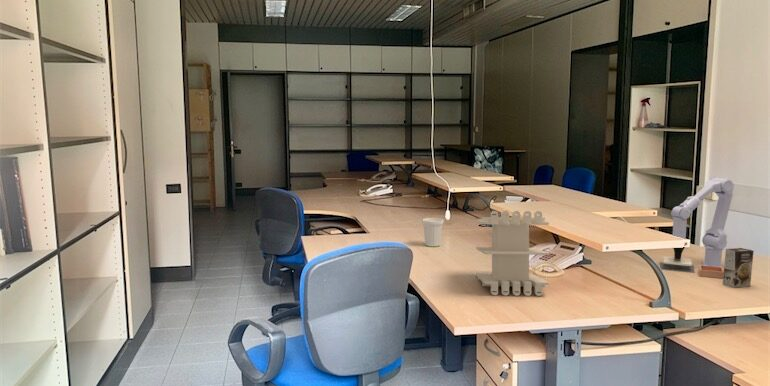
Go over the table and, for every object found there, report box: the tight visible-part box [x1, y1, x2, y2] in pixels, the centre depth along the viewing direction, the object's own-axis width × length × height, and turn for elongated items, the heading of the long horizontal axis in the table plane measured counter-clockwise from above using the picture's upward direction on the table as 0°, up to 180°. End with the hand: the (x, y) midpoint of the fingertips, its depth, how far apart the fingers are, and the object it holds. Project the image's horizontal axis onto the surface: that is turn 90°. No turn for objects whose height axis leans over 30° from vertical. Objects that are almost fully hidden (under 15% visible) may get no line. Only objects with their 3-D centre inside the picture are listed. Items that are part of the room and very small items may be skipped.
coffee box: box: [722, 247, 755, 289], centre depth 242 cm, size 9×6×16 cm
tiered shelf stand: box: [475, 210, 550, 297], centre depth 244 cm, size 26×31×35 cm
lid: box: [663, 254, 693, 266], centre depth 271 cm, size 12×12×5 cm
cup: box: [421, 217, 445, 248], centre depth 320 cm, size 12×12×15 cm
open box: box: [697, 264, 724, 280], centre depth 258 cm, size 10×10×4 cm
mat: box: [659, 261, 696, 274], centre depth 271 cm, size 15×15×1 cm
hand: (677, 258), depth 271 cm, fingers closed on lid, 3 cm apart
